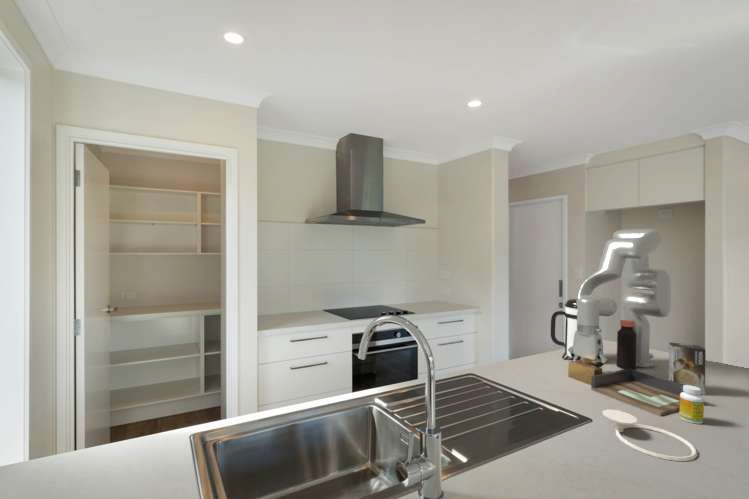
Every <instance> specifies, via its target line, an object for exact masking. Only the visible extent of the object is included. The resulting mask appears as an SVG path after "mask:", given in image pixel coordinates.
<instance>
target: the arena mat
mask: <svg viewBox="0 0 749 499" xmlns="http://www.w3.org/2000/svg"><path fill="white" fill-rule="evenodd" d="M590 387H591V386H590ZM590 390H591V391H594V392H597V393H599V394H601V395H605V396H606V397H609V398H611V399H614V400H616V401H620V402H623V403H625V404H628V405H630V406H633V407H636V408H638V409H640V410H643V411H645V412H649V413H650V414H652V415H653V414H654V415H656V416H659V417H662V416H666V415H668V414H672V413H675V412H679V411H680V396H678V395H675V394H672V393H669V392H666V391H662V390H659V389H656V388H653V387H650V386H647V385H644V384H641V383H638V382H635V381H632V380H630V381H625V382H621V383H616V384H611V385H606V386H602V387H597V388H593V387H591V388H590Z"/></svg>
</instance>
